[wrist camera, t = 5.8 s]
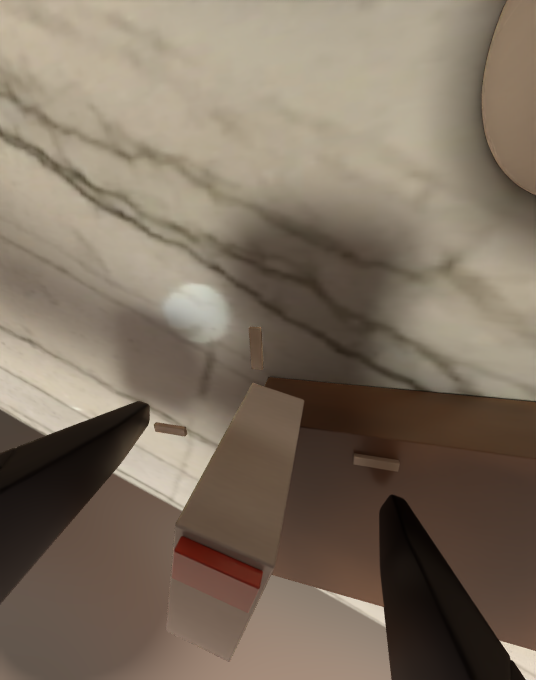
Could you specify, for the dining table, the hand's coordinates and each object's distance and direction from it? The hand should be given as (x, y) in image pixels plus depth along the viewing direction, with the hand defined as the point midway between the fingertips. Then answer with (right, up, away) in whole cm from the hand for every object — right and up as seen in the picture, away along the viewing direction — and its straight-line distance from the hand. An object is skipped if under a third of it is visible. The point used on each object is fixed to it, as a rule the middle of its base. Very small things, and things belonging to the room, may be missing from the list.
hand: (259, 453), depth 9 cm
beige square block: (0, 0, 0) cm, 0 cm away
